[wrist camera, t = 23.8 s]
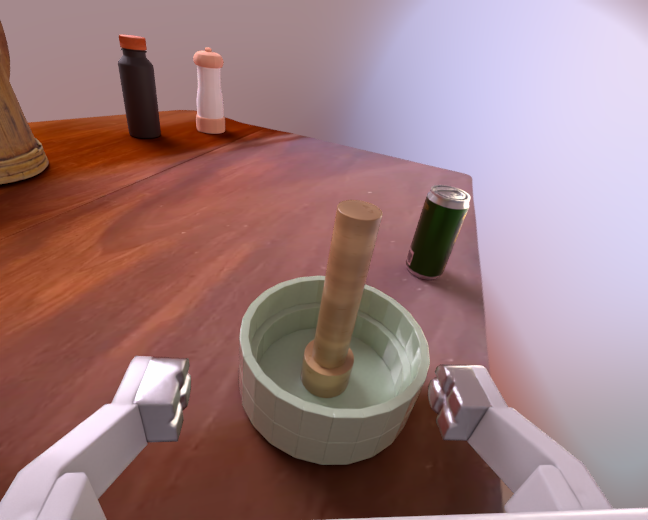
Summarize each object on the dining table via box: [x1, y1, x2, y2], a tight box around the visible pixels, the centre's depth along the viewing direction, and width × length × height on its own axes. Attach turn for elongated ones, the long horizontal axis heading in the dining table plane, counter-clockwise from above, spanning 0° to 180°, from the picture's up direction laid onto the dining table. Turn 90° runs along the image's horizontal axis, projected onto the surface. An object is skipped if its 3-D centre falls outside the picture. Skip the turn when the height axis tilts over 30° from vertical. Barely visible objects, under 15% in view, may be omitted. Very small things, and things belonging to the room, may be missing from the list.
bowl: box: [239, 276, 430, 465], centre depth 31 cm, size 15×15×6 cm
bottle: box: [118, 35, 161, 138], centre depth 79 cm, size 7×7×20 cm
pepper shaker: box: [193, 47, 225, 134], centre depth 90 cm, size 7×7×19 cm
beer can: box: [406, 185, 470, 280], centre depth 48 cm, size 5×5×12 cm
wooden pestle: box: [301, 200, 382, 398], centre depth 28 cm, size 4×4×17 cm
